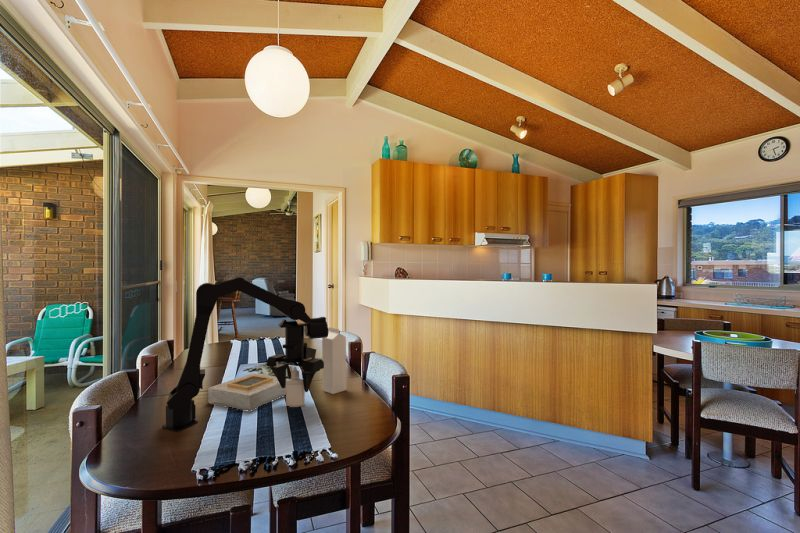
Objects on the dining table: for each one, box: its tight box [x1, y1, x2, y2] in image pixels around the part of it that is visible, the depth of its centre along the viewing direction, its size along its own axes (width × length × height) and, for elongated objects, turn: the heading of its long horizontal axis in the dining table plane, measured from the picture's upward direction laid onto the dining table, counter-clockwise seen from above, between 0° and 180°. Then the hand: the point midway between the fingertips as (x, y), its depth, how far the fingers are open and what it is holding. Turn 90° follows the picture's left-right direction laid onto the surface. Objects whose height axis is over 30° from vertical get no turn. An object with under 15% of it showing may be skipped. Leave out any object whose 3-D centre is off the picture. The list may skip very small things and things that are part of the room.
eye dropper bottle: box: [285, 366, 306, 408], centre depth 118 cm, size 4×6×12 cm
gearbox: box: [207, 373, 290, 412], centre depth 127 cm, size 23×18×6 cm
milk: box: [321, 327, 347, 395], centre depth 133 cm, size 6×6×22 cm
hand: (295, 389), depth 118 cm, fingers open, 9 cm apart
